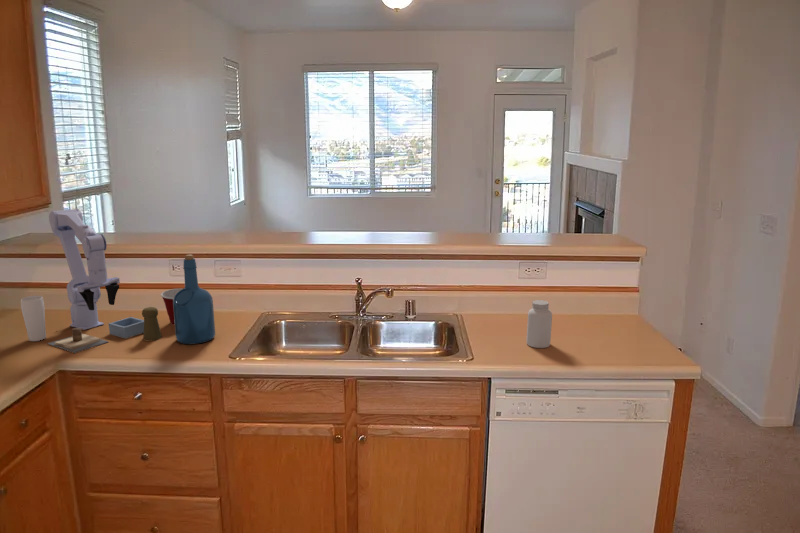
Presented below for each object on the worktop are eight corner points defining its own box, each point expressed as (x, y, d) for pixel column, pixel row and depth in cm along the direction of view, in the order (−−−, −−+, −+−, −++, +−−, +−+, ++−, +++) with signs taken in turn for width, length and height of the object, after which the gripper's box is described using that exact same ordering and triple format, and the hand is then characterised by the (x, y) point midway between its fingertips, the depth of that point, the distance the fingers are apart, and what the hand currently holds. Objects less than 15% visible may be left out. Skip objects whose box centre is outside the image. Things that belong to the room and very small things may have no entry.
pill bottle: (536, 350, 201) (539, 306, 197) (521, 342, 208) (523, 300, 204) (555, 346, 204) (557, 303, 201) (539, 339, 211) (541, 297, 208)
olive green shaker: (155, 341, 210) (152, 310, 207) (139, 340, 211) (136, 309, 209) (165, 335, 216) (162, 305, 213) (149, 334, 217) (146, 304, 214)
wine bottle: (192, 330, 220) (185, 250, 214) (223, 335, 216) (217, 252, 209) (166, 343, 208) (158, 257, 201) (198, 347, 204) (191, 260, 197)
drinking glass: (53, 337, 214) (47, 296, 210) (34, 343, 208) (28, 301, 204) (40, 335, 216) (34, 294, 213) (21, 341, 210) (15, 299, 207)
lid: (55, 344, 206) (53, 330, 205) (82, 335, 214) (80, 322, 213) (73, 349, 201) (71, 335, 200) (100, 340, 210) (98, 327, 209)
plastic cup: (166, 329, 223) (163, 297, 220) (161, 321, 232) (158, 290, 229) (196, 324, 228) (194, 293, 225) (190, 316, 237) (188, 287, 234)
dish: (109, 334, 217) (108, 323, 216) (132, 327, 225) (131, 316, 224) (125, 338, 213) (124, 327, 212) (147, 331, 220) (146, 320, 219)
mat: (47, 344, 207) (47, 343, 207) (81, 334, 217) (81, 333, 217) (74, 353, 199) (74, 352, 199) (108, 342, 209) (108, 341, 209)
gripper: (84, 275, 203) (88, 314, 206) (123, 266, 215) (127, 303, 218) (71, 272, 206) (76, 311, 209) (111, 264, 218) (115, 300, 221)
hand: (101, 307), depth 214 cm, fingers open, 7 cm apart
